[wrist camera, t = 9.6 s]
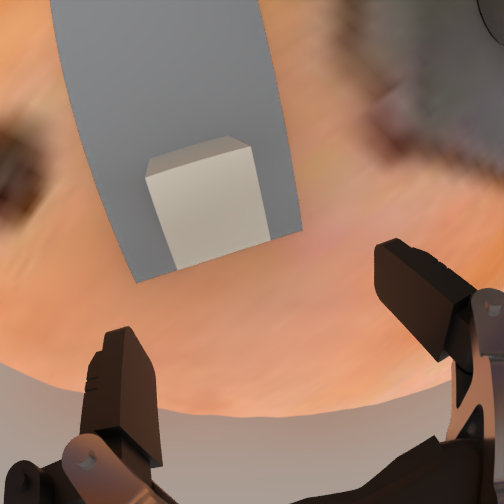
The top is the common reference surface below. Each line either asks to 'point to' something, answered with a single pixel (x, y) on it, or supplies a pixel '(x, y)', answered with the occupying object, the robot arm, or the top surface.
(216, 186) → the beige cube block
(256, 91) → the board
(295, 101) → the top surface
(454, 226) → the top surface
